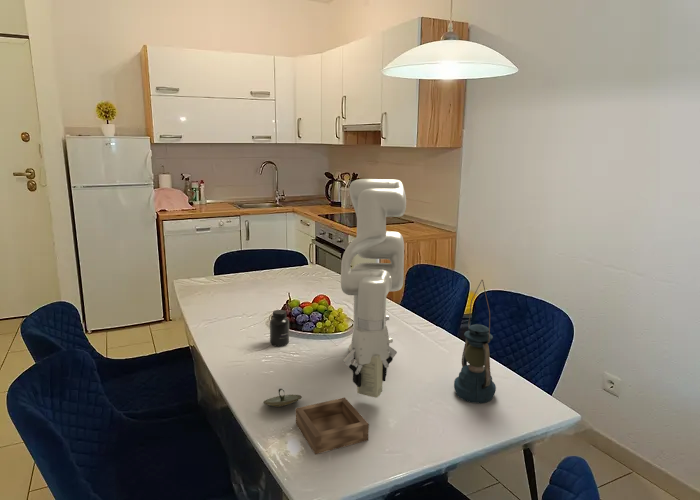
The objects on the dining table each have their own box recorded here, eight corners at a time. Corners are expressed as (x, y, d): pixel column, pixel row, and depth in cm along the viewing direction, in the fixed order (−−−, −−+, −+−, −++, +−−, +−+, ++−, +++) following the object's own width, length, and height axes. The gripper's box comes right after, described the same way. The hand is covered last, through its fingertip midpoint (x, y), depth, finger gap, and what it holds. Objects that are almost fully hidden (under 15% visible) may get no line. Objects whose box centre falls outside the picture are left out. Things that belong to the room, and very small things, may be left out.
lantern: (505, 403, 142) (516, 285, 135) (468, 409, 139) (477, 288, 131) (479, 380, 156) (487, 271, 148) (444, 385, 152) (451, 274, 145)
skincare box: (382, 391, 141) (384, 351, 138) (377, 398, 137) (378, 357, 134) (361, 386, 144) (362, 346, 141) (355, 393, 140) (356, 353, 137)
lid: (268, 419, 132) (268, 402, 131) (259, 401, 141) (258, 385, 140) (306, 411, 137) (306, 394, 136) (295, 394, 145) (294, 378, 144)
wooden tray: (344, 412, 136) (344, 397, 135) (368, 440, 124) (368, 423, 123) (295, 424, 130) (295, 408, 129) (315, 454, 118) (315, 437, 117)
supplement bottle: (285, 348, 177) (285, 315, 175) (267, 346, 179) (266, 314, 176) (291, 340, 184) (291, 309, 181) (274, 338, 185) (273, 307, 183)
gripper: (392, 313, 142) (390, 370, 147) (336, 322, 135) (335, 382, 139) (406, 322, 136) (403, 381, 140) (348, 332, 128) (347, 395, 133)
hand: (369, 381), depth 140 cm, fingers closed on skincare box, 7 cm apart
